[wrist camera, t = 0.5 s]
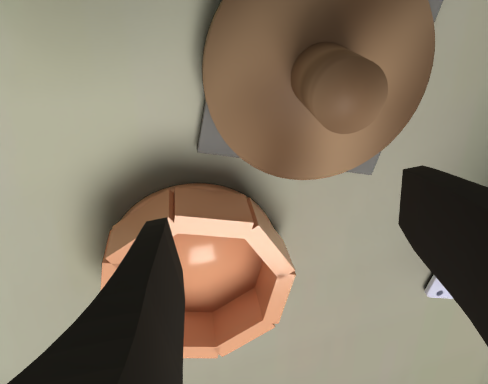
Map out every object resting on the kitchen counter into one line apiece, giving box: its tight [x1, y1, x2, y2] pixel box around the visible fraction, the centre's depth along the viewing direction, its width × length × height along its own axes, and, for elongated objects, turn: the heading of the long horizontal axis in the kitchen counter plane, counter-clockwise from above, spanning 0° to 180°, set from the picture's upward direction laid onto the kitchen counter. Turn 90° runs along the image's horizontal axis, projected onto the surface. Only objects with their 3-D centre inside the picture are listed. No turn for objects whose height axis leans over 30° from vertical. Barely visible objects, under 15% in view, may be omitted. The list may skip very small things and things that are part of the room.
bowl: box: [101, 183, 296, 358], centre depth 22 cm, size 10×10×4 cm
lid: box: [202, 0, 435, 180], centre depth 17 cm, size 11×11×4 cm
